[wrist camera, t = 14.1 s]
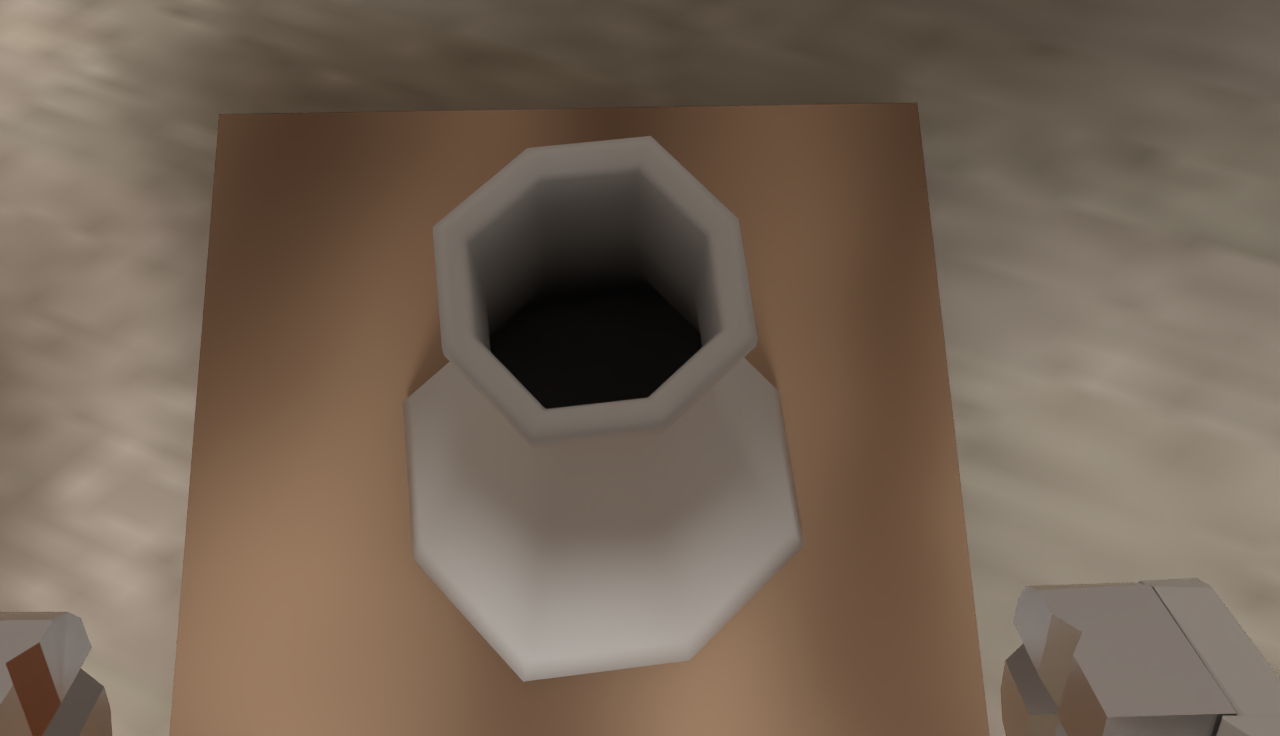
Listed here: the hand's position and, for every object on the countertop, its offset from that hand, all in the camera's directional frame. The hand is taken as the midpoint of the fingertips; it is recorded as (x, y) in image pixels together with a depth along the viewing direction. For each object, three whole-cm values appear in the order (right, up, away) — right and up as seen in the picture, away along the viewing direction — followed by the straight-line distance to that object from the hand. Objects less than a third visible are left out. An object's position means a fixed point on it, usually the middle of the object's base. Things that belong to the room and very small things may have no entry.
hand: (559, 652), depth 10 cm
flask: (0, 0, +11) cm, 11 cm away
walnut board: (0, 0, +12) cm, 12 cm away
